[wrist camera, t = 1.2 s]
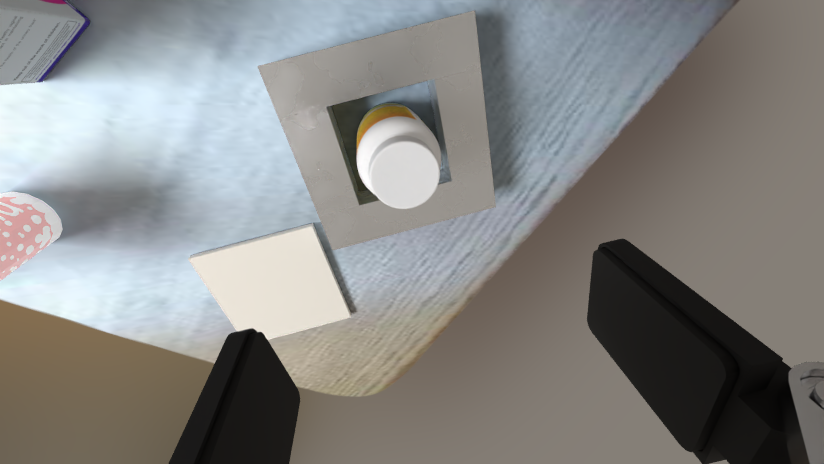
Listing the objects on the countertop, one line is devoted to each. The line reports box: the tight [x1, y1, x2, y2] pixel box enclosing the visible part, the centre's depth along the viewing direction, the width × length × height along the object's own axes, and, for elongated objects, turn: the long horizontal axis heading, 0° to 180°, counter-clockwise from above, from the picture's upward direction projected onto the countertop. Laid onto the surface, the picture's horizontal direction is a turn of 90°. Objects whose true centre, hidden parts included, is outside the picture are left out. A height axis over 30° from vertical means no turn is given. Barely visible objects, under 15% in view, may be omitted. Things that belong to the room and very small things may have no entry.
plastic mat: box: [188, 223, 351, 340], centre depth 32 cm, size 11×11×1 cm
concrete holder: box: [258, 11, 496, 250], centre depth 26 cm, size 14×14×3 cm
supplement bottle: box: [357, 103, 441, 209], centre depth 23 cm, size 5×5×10 cm
